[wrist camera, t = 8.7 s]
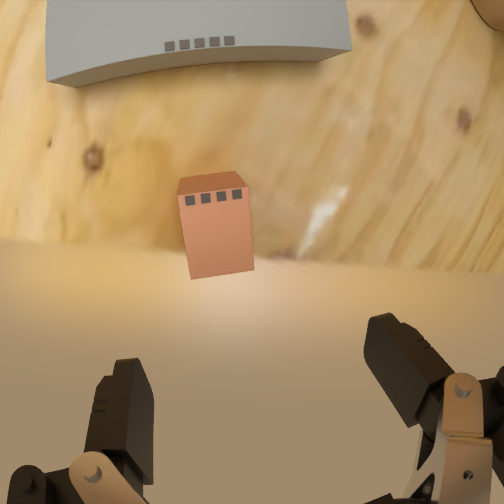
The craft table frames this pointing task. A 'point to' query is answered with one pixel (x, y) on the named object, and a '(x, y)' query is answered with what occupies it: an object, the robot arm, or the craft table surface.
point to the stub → (216, 224)
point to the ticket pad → (185, 35)
